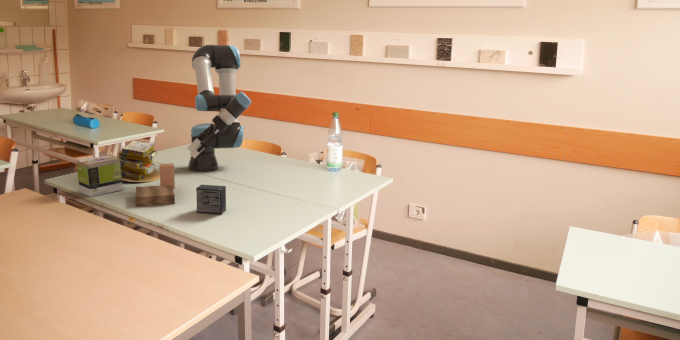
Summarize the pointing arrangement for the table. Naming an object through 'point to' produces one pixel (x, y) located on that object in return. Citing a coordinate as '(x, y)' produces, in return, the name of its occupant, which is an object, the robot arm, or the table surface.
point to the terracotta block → (167, 174)
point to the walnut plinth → (155, 195)
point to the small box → (211, 199)
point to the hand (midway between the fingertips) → (190, 153)
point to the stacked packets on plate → (138, 162)
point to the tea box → (99, 175)
